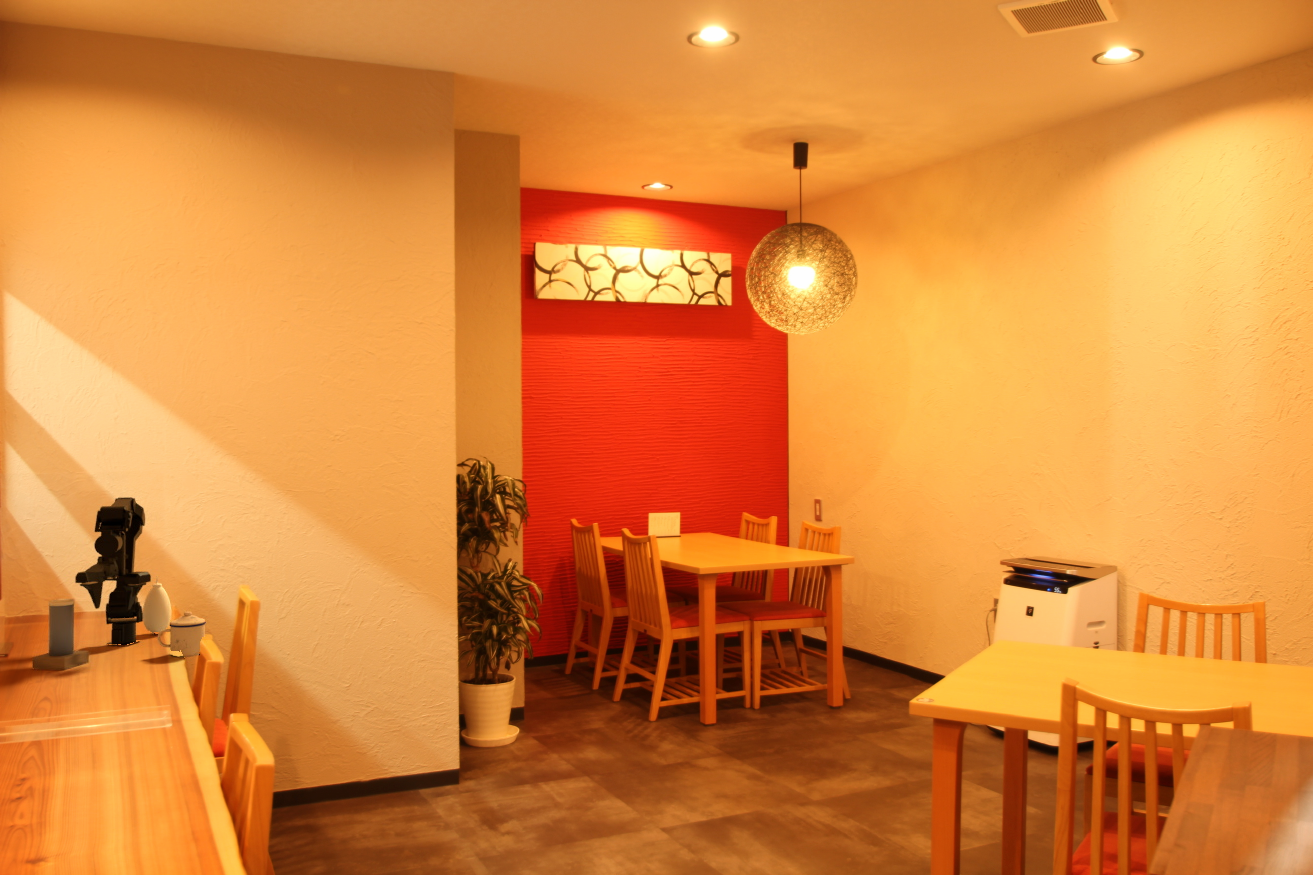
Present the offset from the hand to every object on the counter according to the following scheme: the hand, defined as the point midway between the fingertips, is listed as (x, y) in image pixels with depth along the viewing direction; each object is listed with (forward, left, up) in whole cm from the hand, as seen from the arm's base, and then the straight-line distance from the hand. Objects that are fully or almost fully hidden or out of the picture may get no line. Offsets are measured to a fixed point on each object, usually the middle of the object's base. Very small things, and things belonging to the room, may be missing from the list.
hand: (112, 608), depth 270 cm
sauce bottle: (-31, -7, -13) cm, 34 cm away
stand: (+12, -6, -13) cm, 19 cm away
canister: (+12, -6, -10) cm, 17 cm away
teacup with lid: (-5, +17, -13) cm, 22 cm away
